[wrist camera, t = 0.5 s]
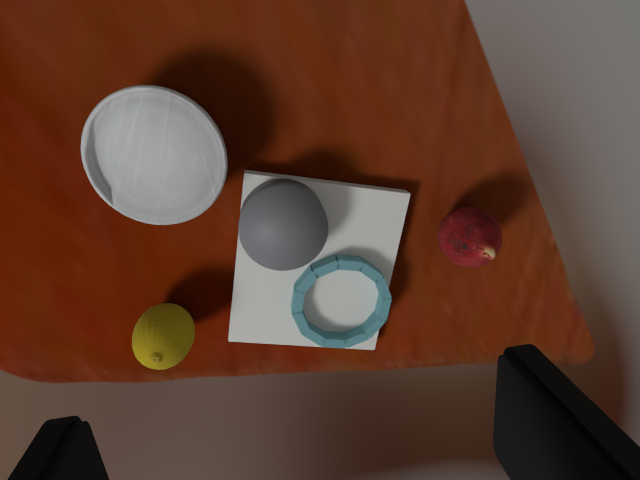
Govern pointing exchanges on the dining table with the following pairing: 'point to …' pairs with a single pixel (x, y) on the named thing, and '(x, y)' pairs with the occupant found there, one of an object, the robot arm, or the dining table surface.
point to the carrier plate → (314, 261)
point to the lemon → (163, 336)
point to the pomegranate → (470, 236)
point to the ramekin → (154, 155)
